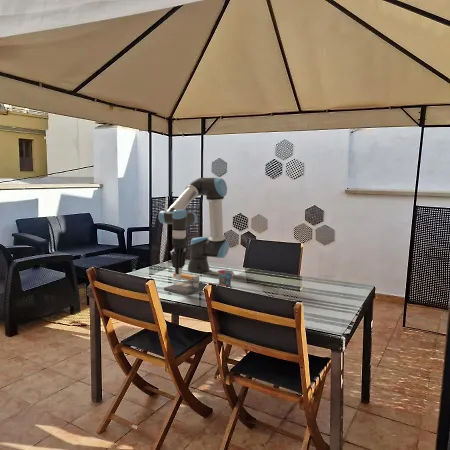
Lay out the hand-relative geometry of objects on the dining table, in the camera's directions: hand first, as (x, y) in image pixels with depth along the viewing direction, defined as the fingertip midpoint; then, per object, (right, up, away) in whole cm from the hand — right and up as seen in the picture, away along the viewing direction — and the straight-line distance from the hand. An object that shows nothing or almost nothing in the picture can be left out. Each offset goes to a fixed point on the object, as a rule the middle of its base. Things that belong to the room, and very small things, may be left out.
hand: (178, 279), depth 215 cm
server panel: (+5, -6, +6) cm, 10 cm away
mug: (+27, -7, +7) cm, 29 cm away
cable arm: (+4, -1, +6) cm, 7 cm away
